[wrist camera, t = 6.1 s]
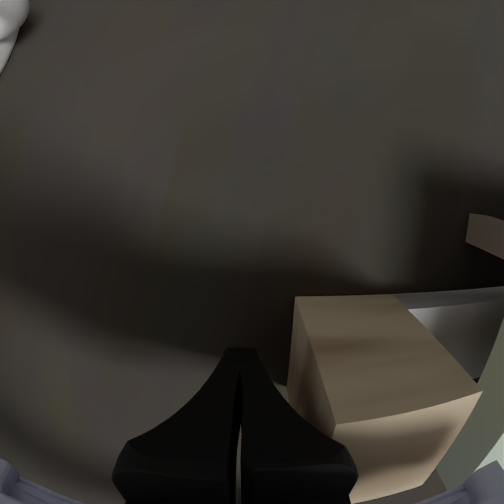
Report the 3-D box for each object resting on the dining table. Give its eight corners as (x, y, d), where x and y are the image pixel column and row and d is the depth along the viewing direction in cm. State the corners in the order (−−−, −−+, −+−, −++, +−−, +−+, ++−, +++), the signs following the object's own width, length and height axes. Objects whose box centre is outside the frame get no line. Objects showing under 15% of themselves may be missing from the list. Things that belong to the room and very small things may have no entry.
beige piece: (532, 342, 14) (585, 389, 7) (286, 387, 14) (305, 510, 7) (552, 280, 13) (616, 319, 6) (294, 296, 12) (336, 424, 6)
